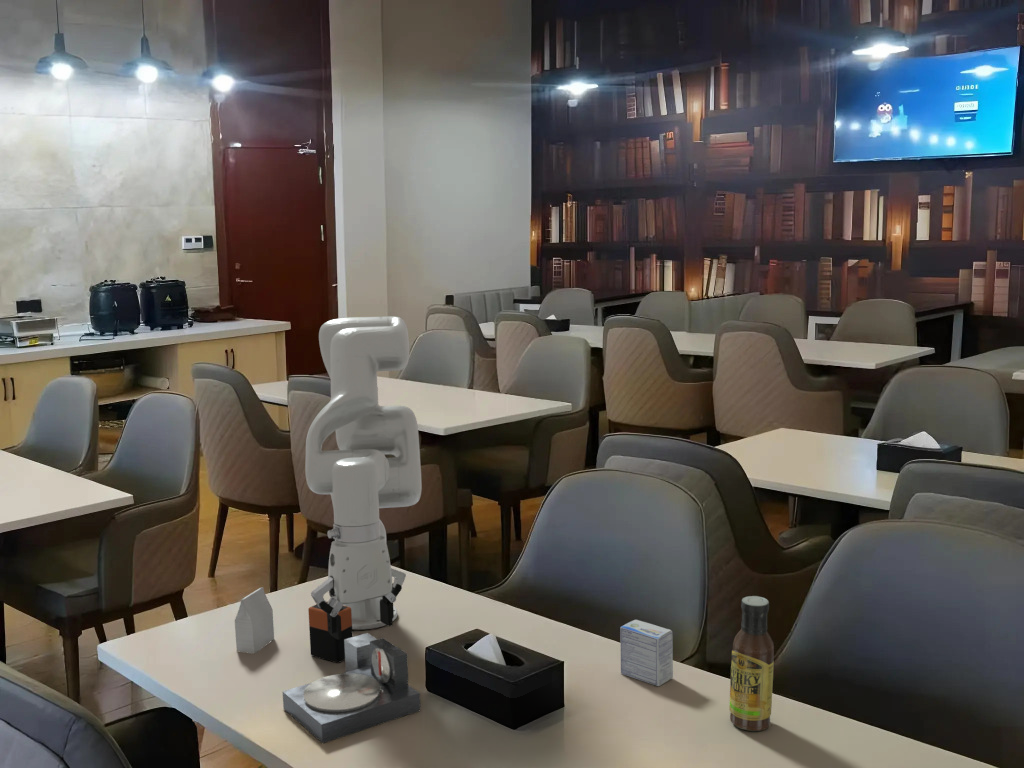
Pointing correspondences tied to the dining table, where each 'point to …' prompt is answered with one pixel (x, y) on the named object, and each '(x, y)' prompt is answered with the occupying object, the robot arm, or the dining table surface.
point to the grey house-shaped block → (254, 622)
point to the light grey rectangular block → (358, 651)
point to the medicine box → (646, 652)
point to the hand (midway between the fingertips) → (361, 630)
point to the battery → (328, 634)
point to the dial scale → (355, 696)
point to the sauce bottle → (752, 668)
